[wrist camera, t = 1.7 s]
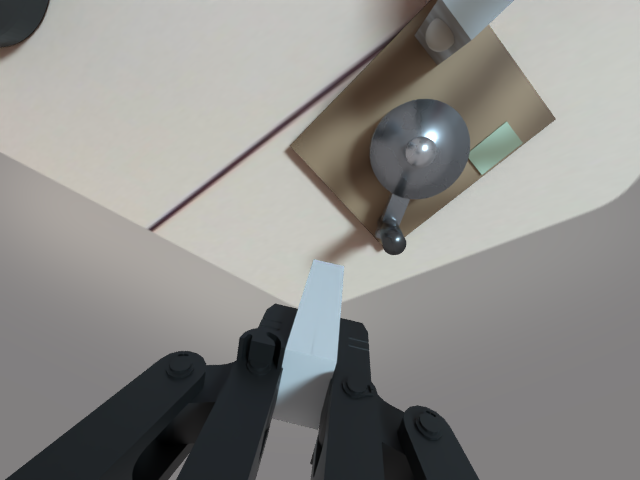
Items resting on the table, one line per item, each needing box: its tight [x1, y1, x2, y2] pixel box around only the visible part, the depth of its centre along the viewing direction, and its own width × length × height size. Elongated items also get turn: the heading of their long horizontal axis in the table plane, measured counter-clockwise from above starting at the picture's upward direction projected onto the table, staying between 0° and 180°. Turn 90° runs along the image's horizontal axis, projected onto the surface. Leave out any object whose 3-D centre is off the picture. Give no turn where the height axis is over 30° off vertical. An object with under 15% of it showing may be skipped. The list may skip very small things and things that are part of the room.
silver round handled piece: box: [369, 99, 470, 255], centre depth 26 cm, size 12×8×6 cm, turn 163°
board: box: [290, 0, 555, 246], centre depth 24 cm, size 14×18×9 cm
